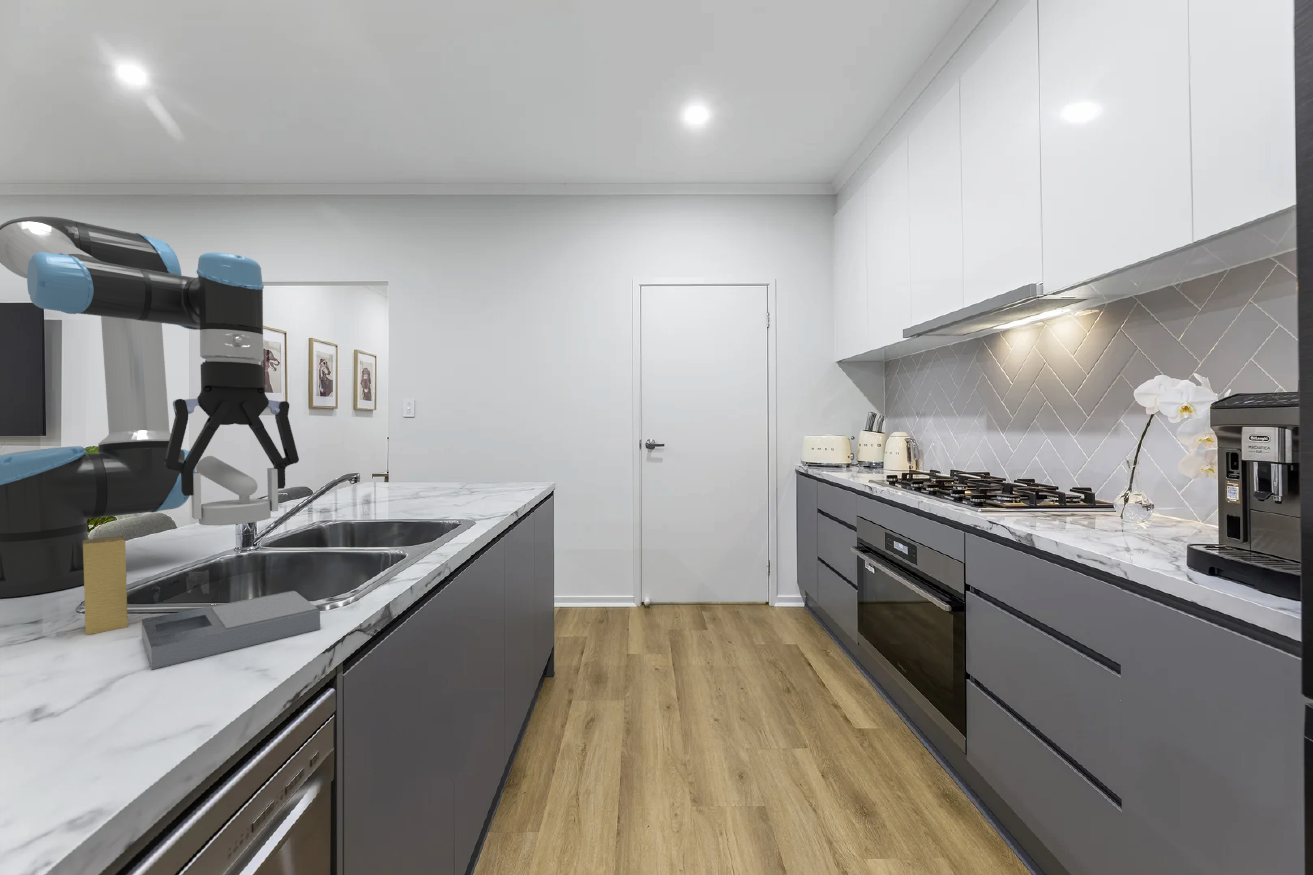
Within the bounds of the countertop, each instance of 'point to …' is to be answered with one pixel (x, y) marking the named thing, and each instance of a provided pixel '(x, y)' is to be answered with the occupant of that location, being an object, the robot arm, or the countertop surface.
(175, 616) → the block
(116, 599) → the yellow block
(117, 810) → the countertop surface
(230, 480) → the white tilted spotlight lamp
